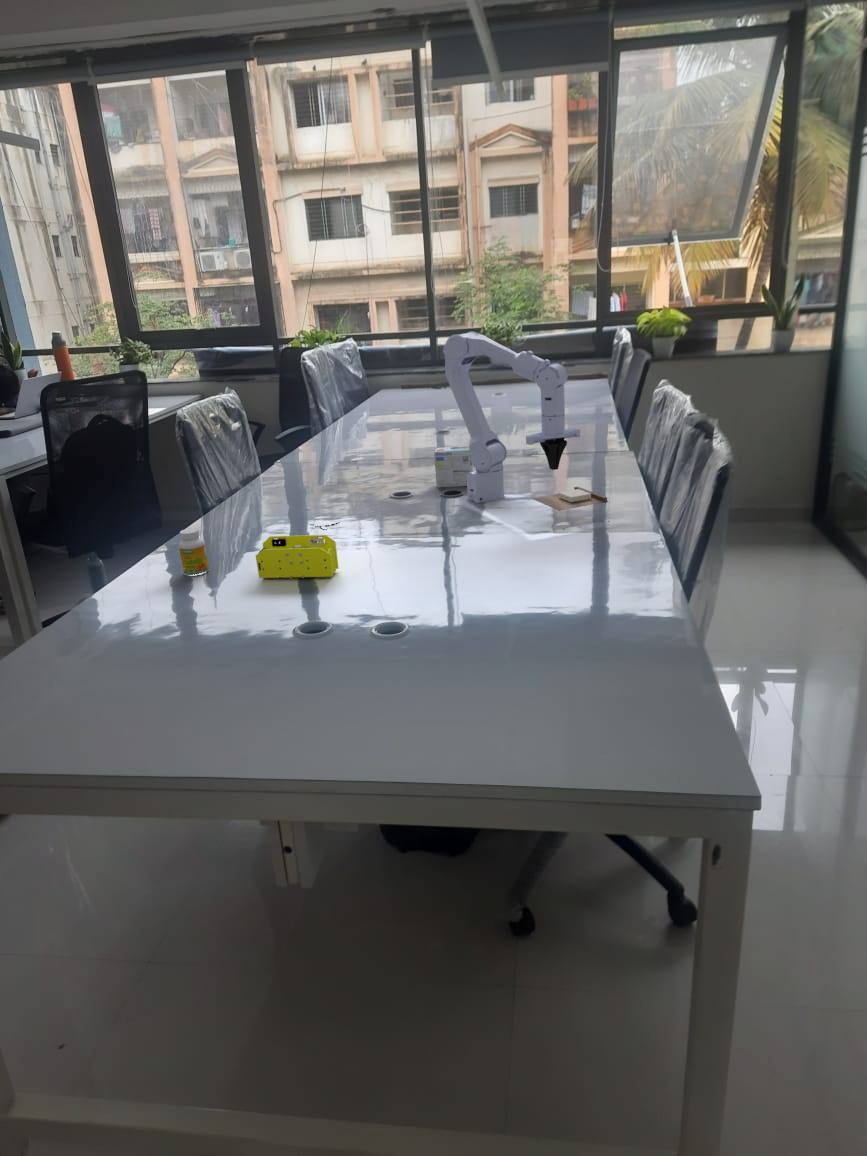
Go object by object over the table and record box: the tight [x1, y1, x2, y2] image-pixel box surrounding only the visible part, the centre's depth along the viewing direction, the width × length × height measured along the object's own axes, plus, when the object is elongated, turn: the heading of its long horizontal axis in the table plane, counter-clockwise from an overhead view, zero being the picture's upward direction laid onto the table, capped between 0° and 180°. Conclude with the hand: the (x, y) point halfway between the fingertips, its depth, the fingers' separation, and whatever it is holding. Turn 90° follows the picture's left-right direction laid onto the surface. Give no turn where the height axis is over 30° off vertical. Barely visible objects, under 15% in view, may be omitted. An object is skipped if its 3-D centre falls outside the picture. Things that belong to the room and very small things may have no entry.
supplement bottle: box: [178, 527, 210, 575], centre depth 172 cm, size 5×5×10 cm
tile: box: [558, 489, 591, 502], centre depth 204 cm, size 2×6×6 cm
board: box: [531, 486, 608, 511], centre depth 204 cm, size 14×14×2 cm
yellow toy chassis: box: [255, 534, 340, 579], centre depth 166 cm, size 16×6×8 cm, turn 82°
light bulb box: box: [433, 445, 474, 488], centre depth 232 cm, size 11×7×11 cm, turn 84°
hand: (553, 468), depth 200 cm, fingers closed
